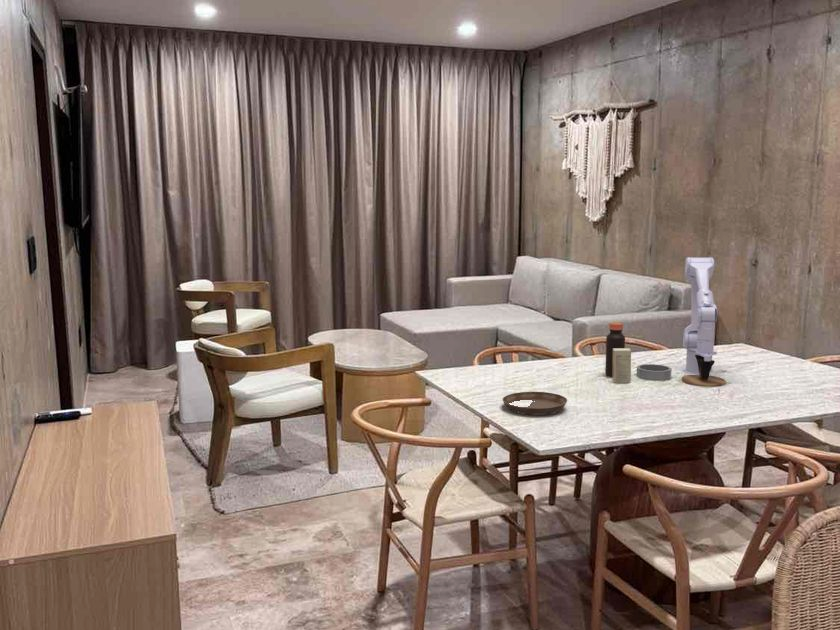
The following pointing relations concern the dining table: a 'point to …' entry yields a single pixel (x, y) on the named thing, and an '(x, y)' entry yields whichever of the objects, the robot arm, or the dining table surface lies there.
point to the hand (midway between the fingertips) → (703, 376)
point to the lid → (703, 380)
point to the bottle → (613, 344)
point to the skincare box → (621, 365)
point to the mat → (703, 386)
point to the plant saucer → (536, 402)
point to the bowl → (654, 372)
